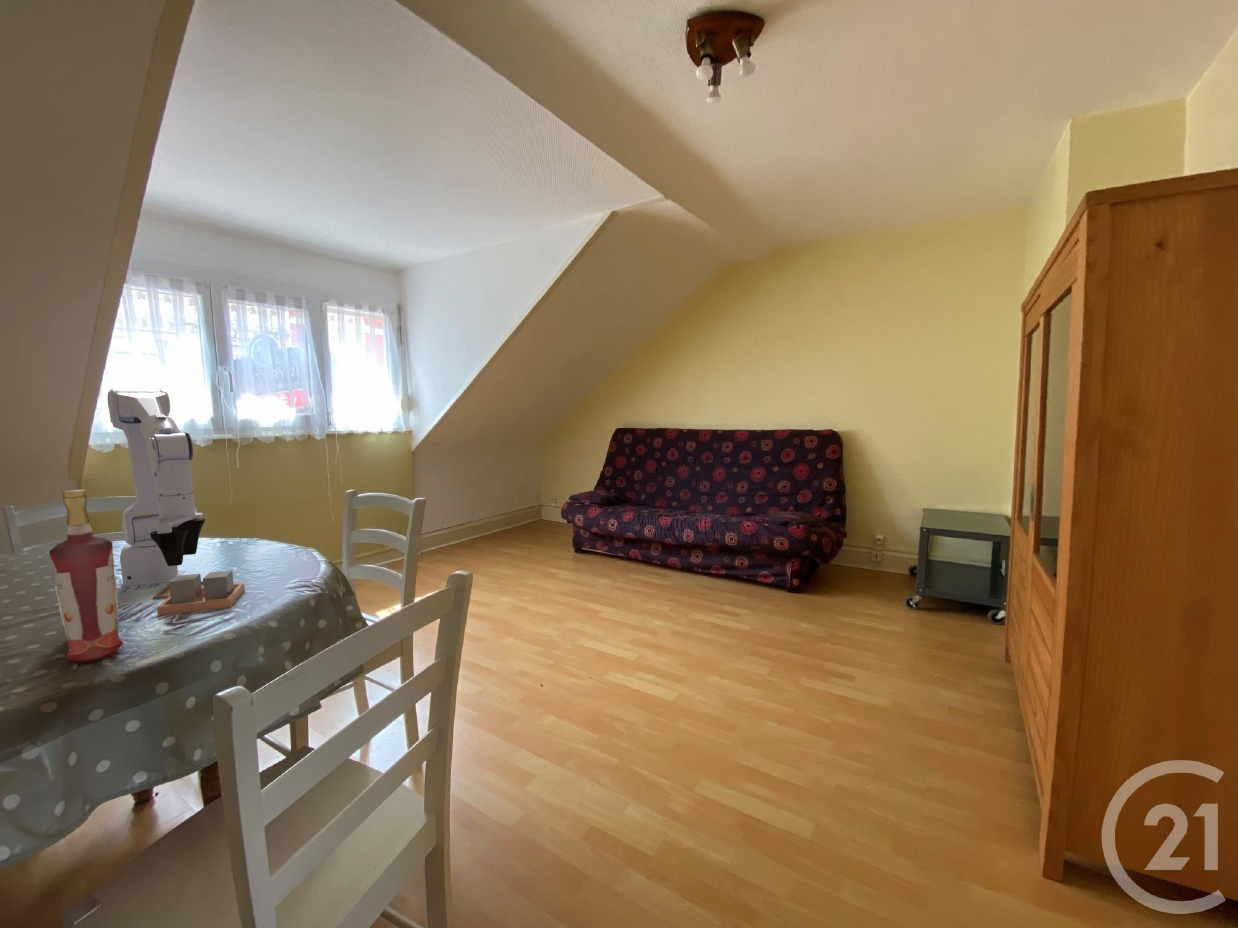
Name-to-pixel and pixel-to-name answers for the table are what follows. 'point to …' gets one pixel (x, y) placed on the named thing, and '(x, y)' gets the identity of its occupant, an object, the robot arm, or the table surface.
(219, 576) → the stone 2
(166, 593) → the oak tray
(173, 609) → the terracotta dish
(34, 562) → the table surface
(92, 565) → the liquor
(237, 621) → the table surface
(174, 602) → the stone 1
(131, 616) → the table surface
